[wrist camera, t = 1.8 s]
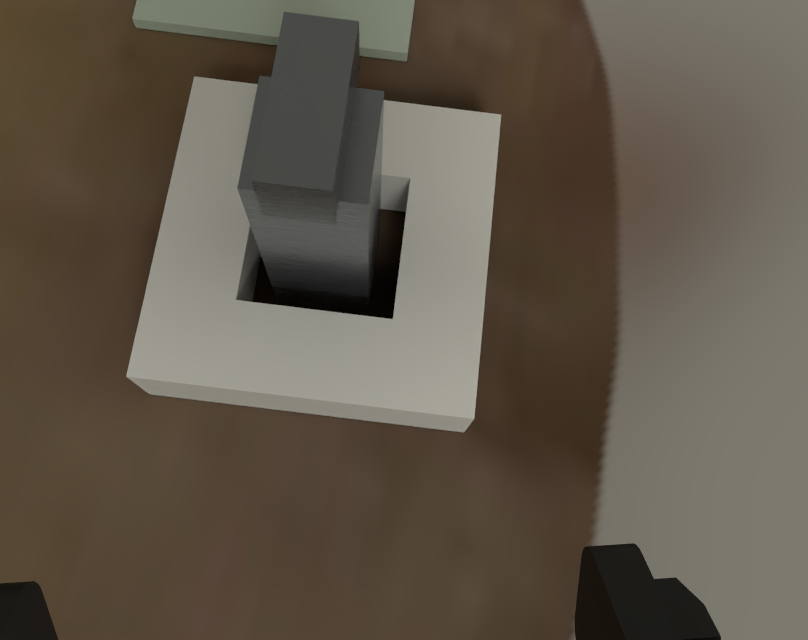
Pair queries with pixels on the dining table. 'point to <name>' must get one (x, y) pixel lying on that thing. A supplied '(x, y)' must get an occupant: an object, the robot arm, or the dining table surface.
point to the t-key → (315, 167)
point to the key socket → (315, 329)
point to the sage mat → (262, 17)
